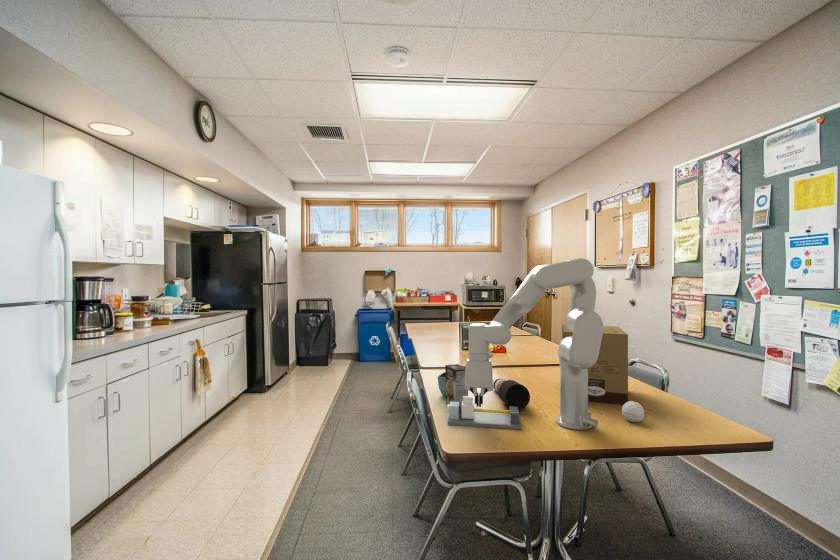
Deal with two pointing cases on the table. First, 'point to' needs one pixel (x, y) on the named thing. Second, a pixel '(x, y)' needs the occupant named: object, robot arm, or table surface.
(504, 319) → the robot arm
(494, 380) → the black cylinder
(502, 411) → the fibre cord
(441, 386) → the flower pot
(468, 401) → the sleeve
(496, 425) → the board
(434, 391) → the table surface
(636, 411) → the white textured egg
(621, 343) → the cardboard box
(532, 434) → the table surface
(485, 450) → the table surface
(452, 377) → the coffee box
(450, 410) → the connector
